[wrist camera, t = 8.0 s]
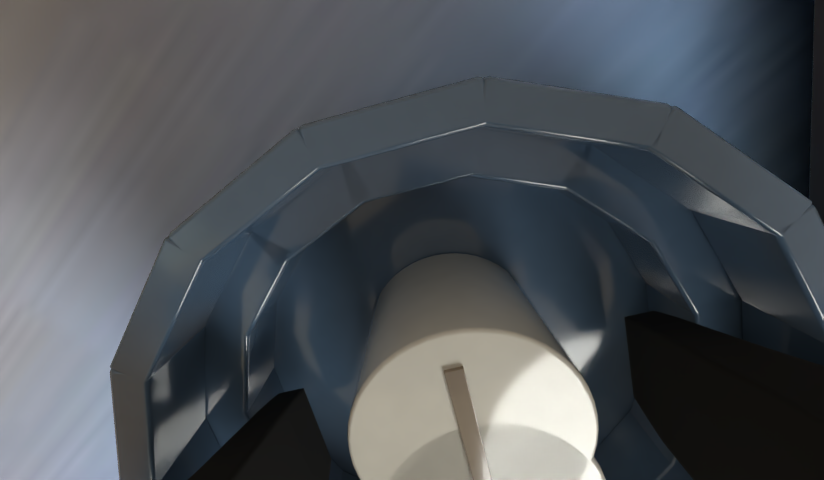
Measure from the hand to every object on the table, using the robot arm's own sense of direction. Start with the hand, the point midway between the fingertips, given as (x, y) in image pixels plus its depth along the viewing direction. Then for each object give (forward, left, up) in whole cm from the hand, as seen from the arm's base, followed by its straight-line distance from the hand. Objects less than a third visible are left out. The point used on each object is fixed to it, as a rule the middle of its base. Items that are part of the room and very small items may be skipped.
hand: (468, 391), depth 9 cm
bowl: (0, 0, -2) cm, 2 cm away
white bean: (0, 0, -1) cm, 1 cm away
